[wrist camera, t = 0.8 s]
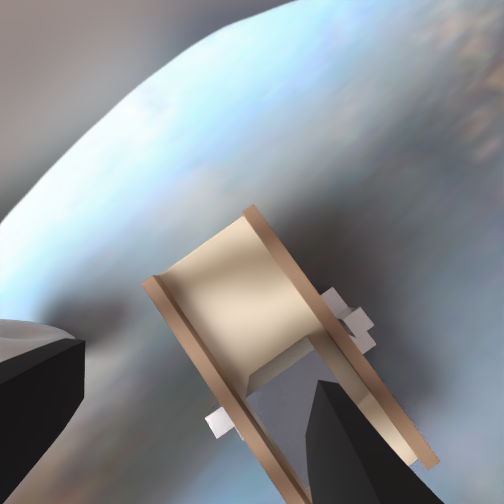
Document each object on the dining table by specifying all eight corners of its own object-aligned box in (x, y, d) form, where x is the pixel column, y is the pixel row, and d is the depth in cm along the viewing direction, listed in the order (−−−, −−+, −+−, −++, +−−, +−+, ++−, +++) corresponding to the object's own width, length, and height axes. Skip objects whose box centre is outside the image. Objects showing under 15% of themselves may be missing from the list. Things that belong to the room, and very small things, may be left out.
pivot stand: (374, 343, 26) (394, 351, 21) (244, 436, 26) (233, 467, 21) (331, 287, 28) (341, 282, 22) (207, 375, 27) (189, 391, 22)
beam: (419, 437, 22) (441, 460, 19) (310, 517, 22) (316, 551, 19) (255, 211, 24) (254, 203, 21) (153, 283, 24) (139, 284, 21)
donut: (9, 347, 30) (-125, 365, 20) (21, 313, 31) (-104, 315, 21) (96, 374, 29) (-2, 408, 19) (107, 338, 29) (17, 353, 19)
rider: (356, 406, 21) (377, 436, 17) (298, 448, 21) (306, 488, 17) (305, 335, 22) (314, 348, 18) (249, 375, 22) (245, 398, 18)
